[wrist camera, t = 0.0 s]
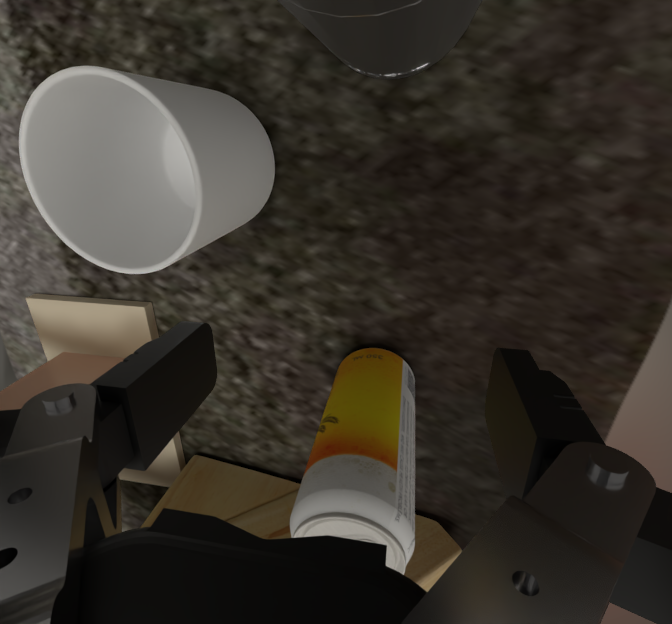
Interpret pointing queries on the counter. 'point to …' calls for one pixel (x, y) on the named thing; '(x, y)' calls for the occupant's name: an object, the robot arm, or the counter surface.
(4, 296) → the counter surface
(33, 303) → the board
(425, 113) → the counter surface
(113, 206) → the mug
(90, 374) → the pink rectangular block
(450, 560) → the knife block
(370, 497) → the beer can
